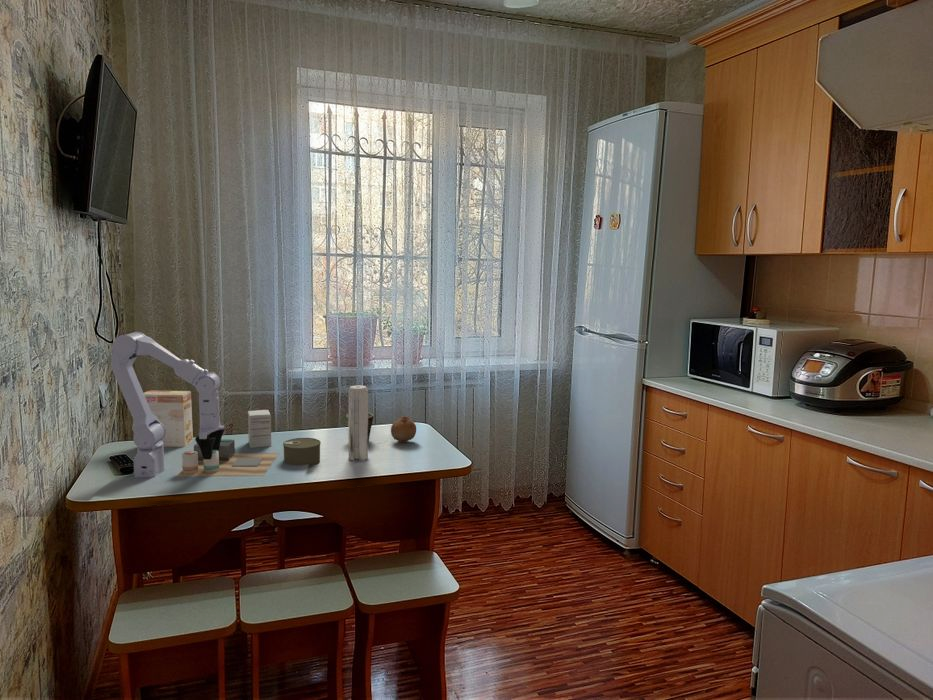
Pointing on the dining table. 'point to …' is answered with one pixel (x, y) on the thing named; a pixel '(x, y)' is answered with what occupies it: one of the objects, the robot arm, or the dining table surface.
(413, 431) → the onion
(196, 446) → the box
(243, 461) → the mat
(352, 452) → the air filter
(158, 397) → the coffeecake box
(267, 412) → the supplement box
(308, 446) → the can
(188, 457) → the cylinder
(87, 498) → the dining table surface
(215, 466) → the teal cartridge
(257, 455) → the board
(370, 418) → the ceramic cup
